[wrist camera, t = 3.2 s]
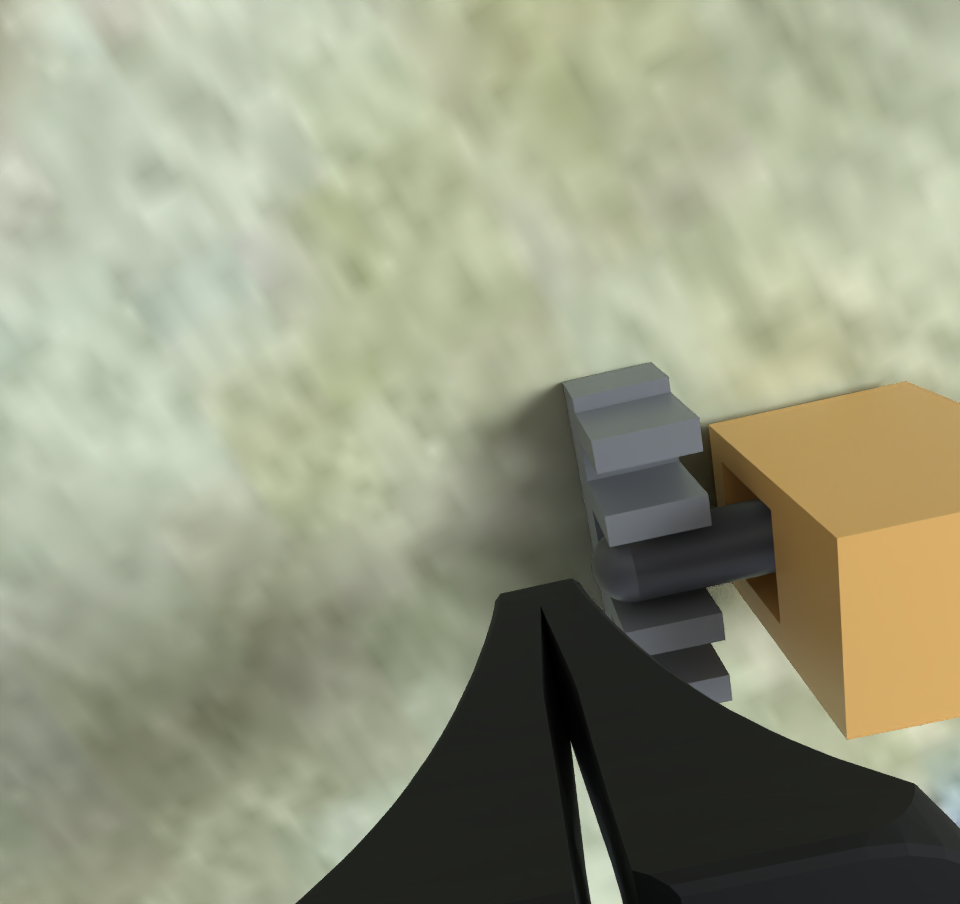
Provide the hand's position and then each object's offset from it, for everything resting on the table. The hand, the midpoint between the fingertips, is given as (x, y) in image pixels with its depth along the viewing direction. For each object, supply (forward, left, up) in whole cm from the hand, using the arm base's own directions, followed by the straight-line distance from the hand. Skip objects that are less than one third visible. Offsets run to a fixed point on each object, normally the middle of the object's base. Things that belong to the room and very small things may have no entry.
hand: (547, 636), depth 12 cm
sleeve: (+6, 0, -4) cm, 7 cm away
